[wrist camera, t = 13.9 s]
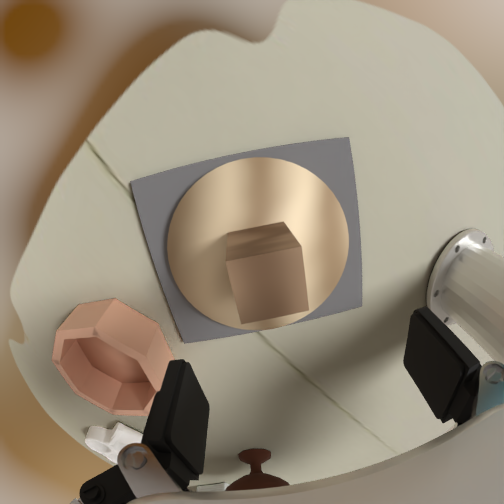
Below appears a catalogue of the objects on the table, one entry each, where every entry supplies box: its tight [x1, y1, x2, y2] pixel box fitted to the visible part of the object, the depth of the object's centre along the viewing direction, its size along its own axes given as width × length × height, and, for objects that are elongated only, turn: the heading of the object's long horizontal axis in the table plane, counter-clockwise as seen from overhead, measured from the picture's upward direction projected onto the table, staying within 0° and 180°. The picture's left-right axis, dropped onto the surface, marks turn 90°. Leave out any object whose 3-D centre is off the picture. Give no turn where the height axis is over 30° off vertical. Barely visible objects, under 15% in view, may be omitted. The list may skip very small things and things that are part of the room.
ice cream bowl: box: [225, 448, 289, 491], centre depth 28 cm, size 11×11×15 cm
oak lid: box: [167, 157, 349, 330], centre depth 19 cm, size 15×15×7 cm
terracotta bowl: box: [52, 298, 175, 416], centre depth 24 cm, size 12×12×5 cm
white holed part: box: [85, 422, 143, 464], centre depth 33 cm, size 3×18×15 cm
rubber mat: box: [130, 137, 362, 344], centre depth 23 cm, size 18×16×1 cm
